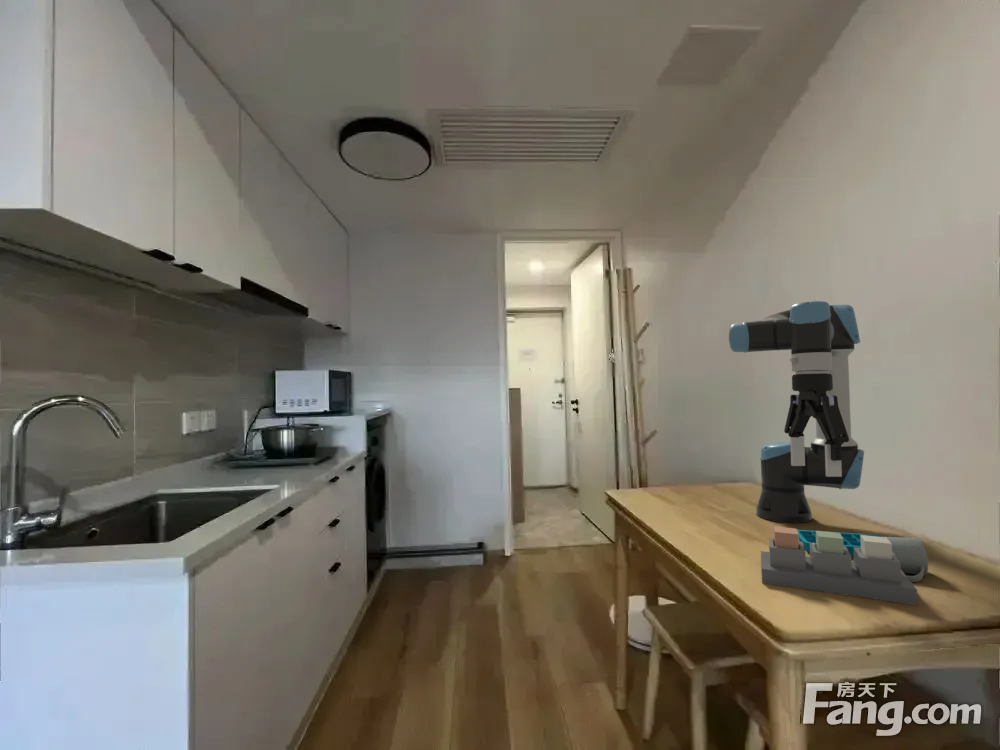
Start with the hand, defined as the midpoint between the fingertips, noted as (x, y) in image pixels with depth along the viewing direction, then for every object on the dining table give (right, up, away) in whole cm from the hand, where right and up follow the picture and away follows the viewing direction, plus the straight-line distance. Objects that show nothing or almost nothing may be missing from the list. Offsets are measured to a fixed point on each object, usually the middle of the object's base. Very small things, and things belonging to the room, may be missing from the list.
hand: (814, 470), depth 107 cm
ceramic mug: (+21, -23, +1) cm, 31 cm away
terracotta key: (-5, -18, +1) cm, 19 cm away
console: (+2, -23, -2) cm, 24 cm away
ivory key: (+9, -18, -6) cm, 20 cm away
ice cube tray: (+19, -24, +17) cm, 35 cm away
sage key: (+2, -18, -2) cm, 18 cm away
